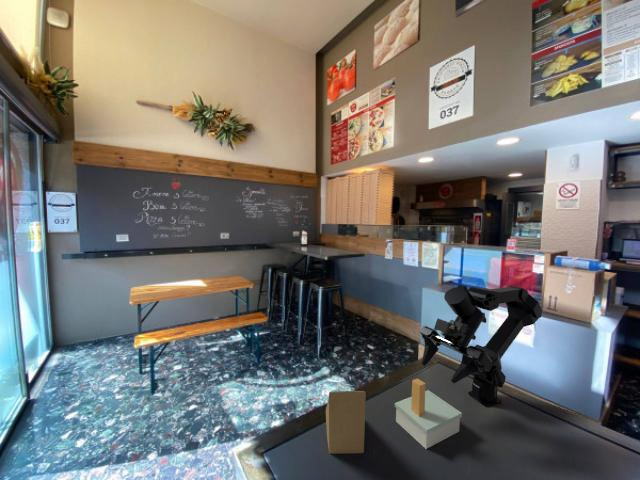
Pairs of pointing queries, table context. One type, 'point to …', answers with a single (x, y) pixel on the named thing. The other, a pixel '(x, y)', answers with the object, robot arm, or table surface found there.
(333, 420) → the sandwich container
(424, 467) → the table surface
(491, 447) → the table surface
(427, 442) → the tub
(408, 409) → the lid
